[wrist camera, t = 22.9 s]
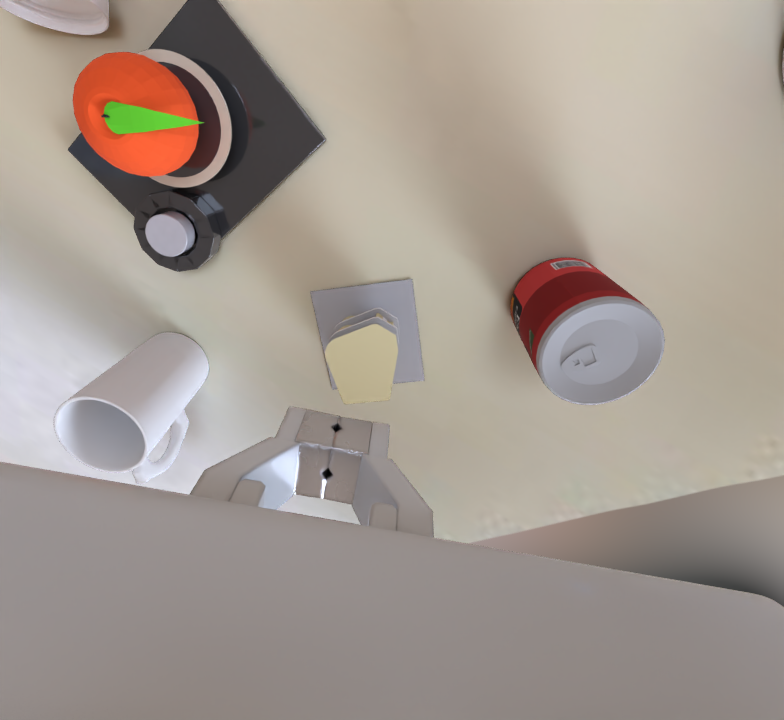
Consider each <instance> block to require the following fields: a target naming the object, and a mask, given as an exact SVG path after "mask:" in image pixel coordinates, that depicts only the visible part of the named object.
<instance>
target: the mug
mask: <svg viewBox="0 0 784 720" xmlns="http://www.w3.org/2000/svg"><path fill="white" fill-rule="evenodd" d="M208 372H209V364H208V360H207V357H206V355H205V353H204V351H203V350H202V349H201V347H200V346H199V345H198V344H197V343H196V342H194V341H193V340H192V339H190V338H188V337H186V336H184V335H182V334H178V333H173V332H165V333H160V334H157V335H155V336H153V337H152V338H150V339H149V340H147V341H146V342H144V343H143V344H142V345H140V346H139V347H137V348H136V349H135V350H133V351H132V352H131V353H130V354H128V355H127V356H126V357H124V358H123V359H122V360H120V361H119V362H118V363H116V364H115V365H114V366H112V367H111V368H109V369H108V370H107V371H105V372H104V373H103V374H101V375H100V376H99V377H97V378H96V379H95V380H93V381H92V382H91V383H89V384H88V385H87V386H85V387H84V388H83V389H81V390H80V391H79V392H77V393H76V394H75V395H73V396H72V397H71V398H70V399H68V400H67V401H65V402H64V403H63V404H61V405H60V407H59V408H58V409H57V411H56V413H55V416H54V430H55V433H56V436H57V438H58V440H59V442H60V443H61V445H62V446H63V447H64V449H65V450H66V451H67V452H68V453H69V454H70V455H71V456H73V457H74V458H75V459H76V460H78V461H79V462H81V463H83V464H84V465H86V466H88V467H91V468H93V469H96V470H99V471H103V472H108V473H124V472H128V471H131V470H133V471H132V474H133V476H134V478H135V481H136V483H137V484H144V483H146V482H147V481H148V480H149V479H151V478H153V477H156V476H158V475H160V474H161V473H163V472H164V471H165V470H167V469H168V468H169V467H170V465H171V464H172V463H173V461H174V460H175V458H176V456H177V454H178V452H179V450H180V448H181V445H182V442H183V440H184V437H185V434H186V431H187V428H188V426H189V420H188V418H187V416H186V414H185V411H184V408H185V407H186V405H187V404H188V403H189V401H190V400H191V399H192V398H193V396H194V395H195V394H196V392H197V391H198V390H199V388H200V387H201V385H202V384H203V383H204V381H205V380H206V378H207V375H208ZM169 427H171V433H170V440H169V444H168V447H167V449H166V451H165V453H164V454H163V456H162V457H161V458H160V459H159V460H158V461H156V462H154V463H152V462H151V461H150V460H149V459H148V455H149V453H150V452H151V451H152V450H153V448H154V447H155V446H156V444H157V443H158V442H159V441H160V439H161V438H162V437H163V435H164V434H165V433H166V431H167V430H168V429H169Z"/></svg>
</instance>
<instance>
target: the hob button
mask: <svg viewBox="0 0 784 720" xmlns="http://www.w3.org/2000/svg"><path fill="white" fill-rule="evenodd" d="M145 234H146V238H147V240H148V242H149V244H150V245H151V247H152V248H153V249H154V250H155V251H157V252H158V253H160V254H162V255H164V256H168V257H174V256H178V255H180V254H182V253H184V252H186V251H187V250H189V249H190V248H191V247H192V246H193V244H194V242H195V231H194V228H193V226H192V224H191V222H190V221H189V220H188V219H187V218H186V217H185V216H184V215H182V214H180V213H178V212H174V211H167V212H163V213H160V214H157V215H155V216H153V217H151V218H150V219H149V220H148V222H147V224H146V228H145Z"/></svg>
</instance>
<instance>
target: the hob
mask: <svg viewBox="0 0 784 720" xmlns="http://www.w3.org/2000/svg"><path fill="white" fill-rule="evenodd" d="M150 49H163V50H168V51H173V52H175V53H178V54H181V55H183V56H185V57H187V58H189V59H190V60H192V61H193V62H195V63H196V64H198V65H199V66H200V67H201V68H202V69H203V70H205V72H206V73H207V74H208V75H209V76H210V77H211V78H212V80H213V81H214V82H215V84H216V85H217V86H218V88H219V90H220V92H221V93H222V95H223V97H224V100H225V102H226V104H227V107H228V110H229V114H230V119H231V126H232V141H231V148H230V151H229V155H228V157H227V160H226V162H225V164H224V165H223V167H222V168H221V170H220V171H219V172H218V173H217V174H216V175H215V176H214V177H213V178H212V179H210V180H208V181H207V182H205V183H203V184H200V185H197V186H193V187H185V188H182V187H173V186H168V185H165V184H162V183H160V182H157V181H155V180H153V179H152V178H150V177H148V176H140V175H135V174H130V173H127V172H125V171H123V170H121V169H119V168H117V167H115V166H113V165H112V164H110V163H109V162H107V161H106V160H105V159H103V158H102V157H101V156H99V155H98V154H97V153H96V152H95V151H94V149H93V148H92V147H91V146H90V145H89V144H88V143H87V141H86V139H85V137H84V136H83V134H82V132H81V134H80V135H79V136H78V137H77V138H76V140H75V141H74V142H73V143H72V145H71V146H70V147H69V148H68V151H69V152H70V153H71V154H72V155H73V156H74V157H75V158H76V159H77V160H78V161H79V162H80V163H81V164H82V165H83V166H84V167H85V168H86V169H87V170H88V171H89V172H90V173H91V174H92V175H93V176H94V177H95V178H96V179H97V180H98V181H99V182H100V183H101V184H102V185H103V186H104V187H105V188H106V189H107V190H108V191H109V192H110V193H111V194H112V195H113V196H114V197H115V198H116V199H117V200H118V201H119V202H120V203H121V204H122V205H123V206H124V207H125V208H126V209H127V210H128V211H129V212H130V213H131V214H132V215H133V216H134V217H135V219H134V230H135V233H136V235H137V238H138V241H139V243H140V246H141V248H142V249H143V250H144V251H145V252H146V253H147V254H148V255H149V256H150V257H151V258H152V259H153V260H154V261H155V262H156V263H157V264H158V265H161V266H164V267H166V268H169V269H172V270H174V271H178V272H180V271H187V270H194V269H198V268H199V267H201V266H202V265H204V264H205V263H207V262H208V261H209V260H210V259H211V258H212V257H213V256H214V255H215V254H216V253H217V252H218V250H219V245H220V241H221V240H222V239H223V238H224V237H225V236H226V235H227V234H228V233H229V232H230V231H231V230H232V229H233V228H234V227H235V226H236V225H237V224H238V223H239V222H241V221H242V220H243V219H244V218H245V217H246V216H247V215H248V214H249V213H250V212H251V211H252V210H253V209H254V208H255V207H256V206H257V205H258V204H260V203H261V202H262V201H263V200H264V199H265V198H266V197H267V196H268V195H269V194H270V193H271V192H272V191H273V190H274V189H275V188H276V187H277V186H278V185H280V184H281V183H282V182H283V181H284V180H285V179H286V178H287V177H288V176H289V175H290V174H291V173H292V172H293V171H294V170H295V169H296V168H297V167H299V166H300V165H301V164H302V163H303V162H304V161H305V160H306V159H307V158H308V157H309V156H310V155H311V154H312V153H313V152H314V151H315V150H316V149H318V148H319V147H320V146H321V145H322V144H323V143H324V142H325V141H326V138H325V137H324V135H323V134H322V133H321V131H320V130H319V129H318V128H317V126H316V125H315V124H314V122H313V121H312V120H311V119H310V117H309V116H308V115H307V113H306V112H305V111H304V110H303V108H302V107H301V106H300V105H299V103H298V102H297V101H296V99H295V98H294V97H293V96H292V94H291V93H290V92H289V90H288V89H287V88H286V87H285V85H284V84H283V83H282V81H281V80H280V79H279V78H278V76H277V75H276V74H275V72H274V71H273V70H272V69H271V67H270V66H269V65H268V63H267V62H266V61H265V60H264V58H263V57H262V56H261V54H260V53H259V52H258V51H257V49H256V48H255V47H254V46H253V44H252V43H251V42H250V40H249V39H248V38H247V37H246V35H245V34H244V33H243V31H242V30H241V29H240V28H239V26H238V25H237V24H236V22H235V21H234V20H233V19H232V17H231V16H230V15H229V13H228V12H227V11H226V10H225V8H224V7H223V6H222V4H221V3H220V2H219V1H218V0H188V1H187V2H186V3H185V4H184V6H183V7H182V8H181V9H180V11H179V12H178V13H177V14H176V16H175V17H174V18H173V19H172V21H171V22H170V23H169V24H168V25H167V27H166V28H165V29H164V30H163V32H162V33H161V34H160V35H159V37H158V38H157V39H156V40H155V42H154V43H153V44H152V45H151V47H150V48H149V49H148V50H150ZM167 211H174V212H178V213H180V214H182V215H184V216H185V217H186V218H187V219H188V220H189V221H190V222H191V224H192V226H193V228H194V231H195V242H194V244H193V246H192V247H191V248H190V249H189V250H187V251H186V252H184V253H182V254H180V255H178V256H174V257H168V256H164V255H162V254H160V253H158V252H157V251H155V250H154V249H153V248H152V247H151V245H150V244H149V242H148V240H147V238H146V234H145V228H146V224H147V222H148V220H149V219H150V218H151V217H153V216H155V215H157V214H160V213H163V212H167Z"/></svg>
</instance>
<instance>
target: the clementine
mask: <svg viewBox="0 0 784 720" xmlns="http://www.w3.org/2000/svg"><path fill="white" fill-rule="evenodd" d="M73 106H74V114H75V117H76V120H77V123H78V126H79V129H80V131H81V132H82V134H83V136H84V137H85V139H86V141H87V143H88V144H89V145H90V146H91V147H92V148H93V149H94V151H95V152H96V153H97V154H98V155H99V156H101V157H102V158H103V159H105V160H106V161H107V162H109V163H110V164H112V165H113V166H115V167H117V168H119V169H121V170H123V171H125V172H127V173H130V174H135V175H140V176H148V177H151V176H163V175H165V174H168V173H170V172H173V171H175V170H177V169H179V168H180V167H181V166H182V165H184V164H185V163H186V162H187V161H188V160H189V159H190V157H191V155H192V153H193V152H194V150H195V147H196V143H197V139H198V134H199V130H198V124H201V123H204V122H199V121H198V117H197V113H196V108H195V105H194V103H193V101H192V99H191V97H190V95H189V93H188V91H187V89H186V88H185V87H184V85H183V84H182V83H181V81H180V80H179V79H178V77H176V76H175V75H174V74H173V73H172V72H171V71H169V70H168V69H167V68H166V67H165V66H163V65H161V64H159V63H158V62H156V61H154V60H152V59H150V58H148V57H146V56H144V55H140V54H135V53H130V52H118V53H108V54H104V55H102V56H100V57H98V58H96V59H94V60H93V61H92V62H90V63H89V64H88V65H87V66H86V67H85V69H84V70H83V71H82V72H81V73H80V74H79V77H78V79H77V81H76V83H75V86H74V94H73Z"/></svg>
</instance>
